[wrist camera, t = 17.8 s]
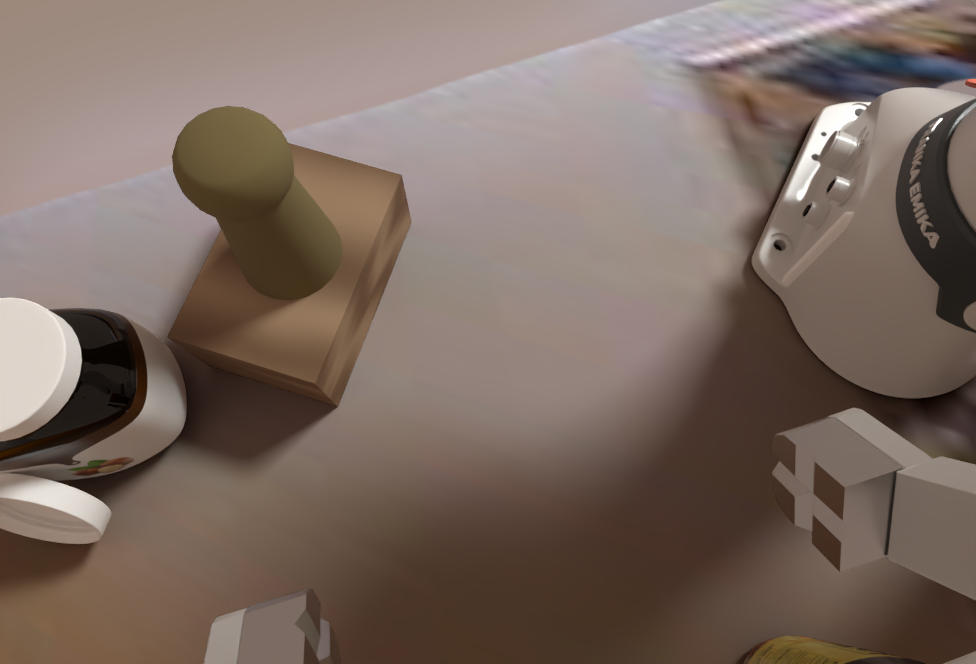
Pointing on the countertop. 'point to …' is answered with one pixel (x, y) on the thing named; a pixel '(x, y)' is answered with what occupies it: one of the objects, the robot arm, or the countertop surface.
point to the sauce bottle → (816, 653)
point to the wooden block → (318, 317)
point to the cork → (257, 201)
